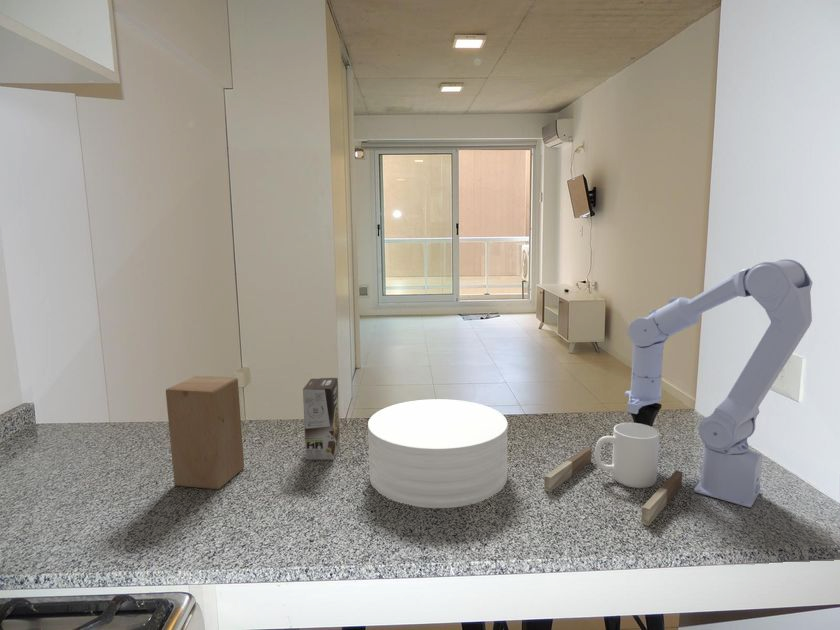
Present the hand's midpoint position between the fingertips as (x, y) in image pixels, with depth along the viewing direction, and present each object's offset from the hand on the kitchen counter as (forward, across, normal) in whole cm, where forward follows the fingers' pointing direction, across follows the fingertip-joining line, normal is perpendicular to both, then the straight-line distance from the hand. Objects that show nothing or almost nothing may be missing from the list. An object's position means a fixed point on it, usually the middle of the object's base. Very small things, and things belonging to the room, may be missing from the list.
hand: (642, 437), depth 116 cm
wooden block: (+6, +62, -65) cm, 90 cm away
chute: (+6, +15, 0) cm, 16 cm away
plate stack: (+6, +31, -30) cm, 44 cm away
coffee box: (+6, +39, -57) cm, 69 cm away
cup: (+6, +10, 0) cm, 11 cm away
